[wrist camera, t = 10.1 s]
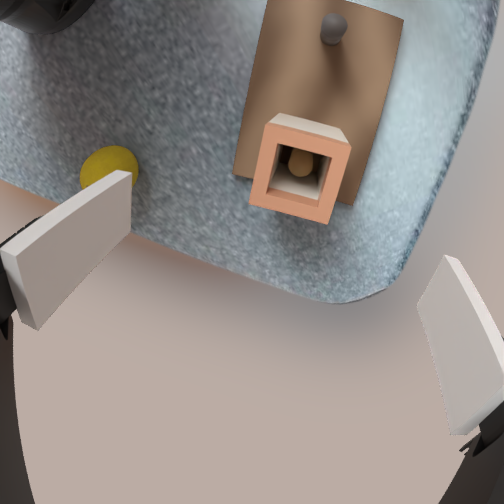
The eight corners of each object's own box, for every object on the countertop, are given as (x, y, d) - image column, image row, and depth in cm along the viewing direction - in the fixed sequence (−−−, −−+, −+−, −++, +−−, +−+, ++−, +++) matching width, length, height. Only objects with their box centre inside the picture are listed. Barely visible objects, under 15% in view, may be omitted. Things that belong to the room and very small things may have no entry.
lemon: (101, 157, 33) (57, 179, 26) (131, 128, 31) (87, 145, 24) (128, 194, 35) (88, 223, 28) (160, 168, 33) (121, 194, 26)
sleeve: (266, 169, 30) (248, 203, 22) (279, 112, 27) (265, 124, 19) (324, 184, 29) (327, 224, 22) (340, 128, 27) (351, 147, 19)
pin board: (234, 170, 32) (214, 194, 25) (272, -12, 22) (260, -37, 16) (351, 201, 31) (360, 233, 25) (400, 22, 21) (424, 6, 15)
